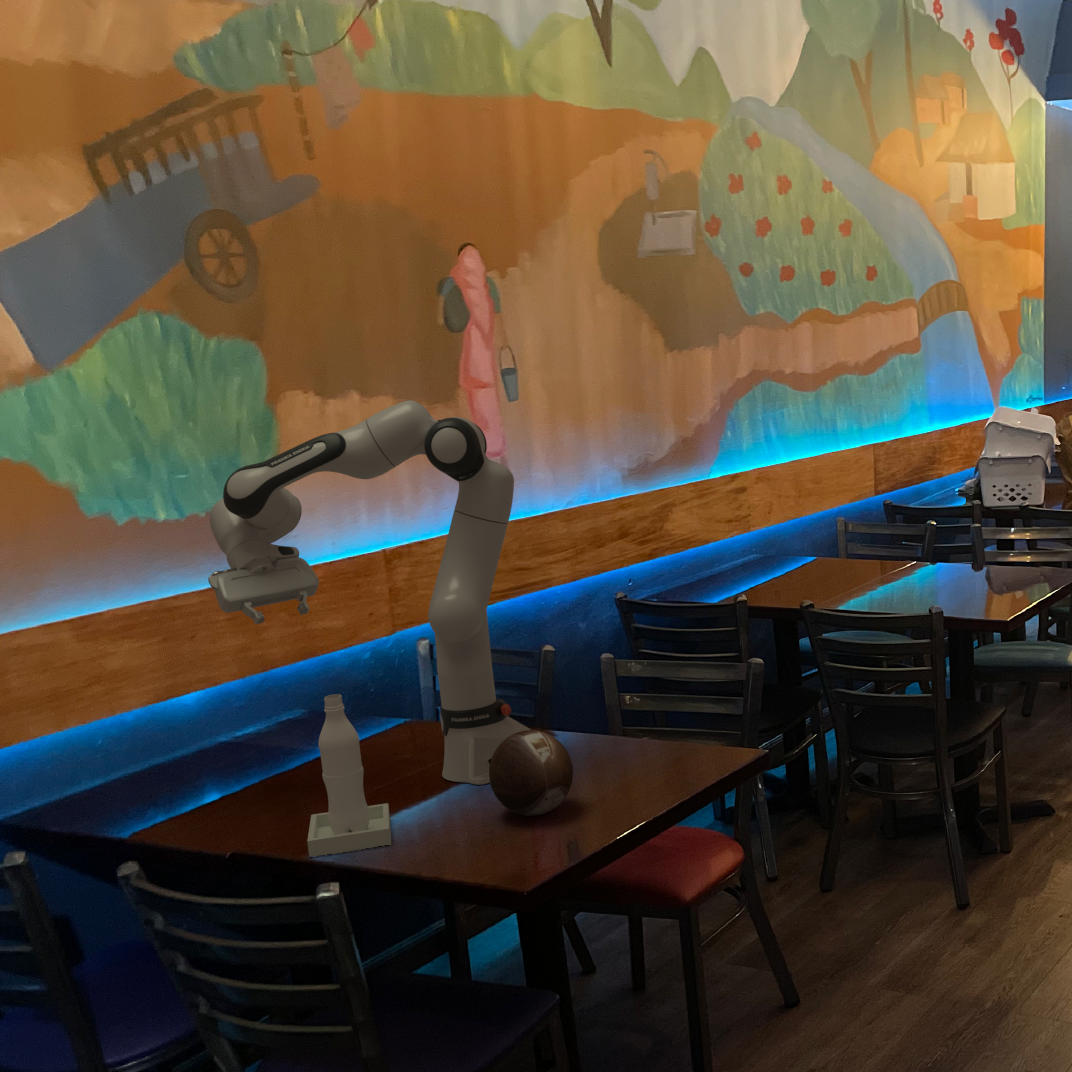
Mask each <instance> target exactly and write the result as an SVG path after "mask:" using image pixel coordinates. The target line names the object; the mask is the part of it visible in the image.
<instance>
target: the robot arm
mask: <svg viewBox="0 0 1072 1072" xmlns="http://www.w3.org/2000/svg"><path fill="white" fill-rule="evenodd" d="M487 444H488V443H487V438H486V436H485V434H484V431H483V430H482V428H481V427H480V426H478V425H477V424H476V423H474V422H473V421H471V420H470V419H467V418H465V417H462V416H460V417H458V416H454V417H453V416H452V417H447V418H442V419H438V420H437V419H435V418H433V416H432V415H431V413H430V412H429V411H428V409H427V408H426V407H425V406H424V405H423V404H422V403H420V402H418V401H415V400H411V399H409V400H404V401H402V402H401V401H400V402H398V403H396V404H394V405H390V406H389V407H386V408H385V409H381V410H380V411H378V412H376V413H374V414H372V415H371V416H369V417H368V418H366V419H364V420H363V421H361V422H359V423H357V424H355V425H353V426H350V427H348V428H346V429H342V430H340V431H336V432H328V433H324V434H321V435H318V436H316V437H313V438H311V439H308V440H306V441H305V442H302V443H300V444H298V445H296V446H293V447H291V448H290V449H288V450H285V451H283V452H281V453H278V454H277V455H274V456H273V457H271V458H269V459H266V460H264V461H260V462H259V463H254V464H253V463H252V464H248V465H247V464H246V465H245V466H241V467H239V468H238V469H236V470H235V471H233V472H232V474H230V476H229V477H228V478H227V480H226V482H225V483H224V486H223V491H222V498H221V499H219V500H218V501H217V502H215V504H214V505H212V508H211V510H210V512H209V525H210V529H211V532H212V533H213V534H212V535H213V537H214V539H215V541H216V542H217V543H216V544H217V545H218V547H219V549H220V550H221V552H222V553H224V554H225V556H226V561H227V563H228V565H229V568H227V569H224V570H215V571H213V572H212V574H210V575H209V576H208V578H207V579H208V584H209V586H210V587H211V589H212V590H214V593H215V598H216V600H217V603H218V605H219V609H220V610H221V611H222V612H225V613H227V614H228V613H235V612H239V611H241V612H242V613H243V615H245V616H247V618H250V619H252V620H253V622H254V624H255V625H260V624H263V623H264V621H265V615H264V614H263V612H262V610H261V611H257V610H256V609H255V608H259V607H263V606H269V605H273V604H278V603H279V604H280V603H284V602H289V601H293V600H297V601H298V606H297V608H296V609H297V611H298V613H299V615H306V614H307V615H308V613H309V611H310V607H309V605H308V603H307V599H308V597H313V596H315V594H316V593H317V592H318V588H319V586H320V585H319V584H320V580H319V578H318V575H317V574H316V573H315V571H314V569H313V568H312V566H311V565H310V564H309V563H308V562H307V560H305V559H304V558H302V557H300V551H299V549H298V548H297V547H295V546H287V545H278V544H273V543H275V542H277V541H278V540H280V539H282V538H283V537H284V536H287V535H288V534H289V533H291V532H293V531H294V529H295V528H296V527H297V526H298V524H299V523H300V520H301V517H302V513H303V511H302V510H303V509H302V505H301V501H300V500H299V498H298V497H297V496H296V495H294V493H292V492H290V491H289V490H288V489H286V487H287V486H290V485H292V484H293V483H295V482H298V481H301V480H302V479H304V478H307V477H308V476H311V475H312V474H316V473H321V472H329V473H336V474H342V475H344V476H345V475H346V476H349V477H352V478H355V479H359V480H371V479H375V478H378V477H379V476H383V475H385V474H386V473H388V472H390V471H391V470H393V469H394V468H396V467H398V466H399V465H401V464H403V463H404V462H406V461H407V460H409V459H412V458H413V457H416V456H418V455H419V456H420V455H425V456H426V458H427V459H428V461H429V462H430V464H431V465H432V466H433V467H434V468H435V469H437V470H438V471H440V472H441V473H443V474H445V475H447V476H448V477H449V478H452V479H453V480H454V481H456V482H457V484H458V493H457V498H456V502H455V504H454V510H453V512H452V513H453V514H452V517H451V522H450V525H449V529H448V533H447V537H446V542H445V545H444V549H443V554H442V556H441V559H440V563H439V569H438V572H437V575H436V580H435V583H434V587H433V591H432V595H431V598H430V603H429V607H428V611H427V612H428V613H427V617H428V622H429V625H430V627H431V630H432V631H433V632H434V639H435V640H434V641H435V652H436V653H435V654H436V671H437V679H438V686H439V693H440V694H439V695H440V702H441V703H440V704H441V705H440V708H439V712H440V713H439V717H440V724H441V725H440V726H441V731H442V734H443V736H444V755H443V756H444V759H443V765H442V766H443V767H442V768H443V769H442V773H441V776H442V778H443V779H445V780H447V781H451V782H456V783H457V782H458V783H467V784H472V785H477V786H479V785H480V786H481V785H486V784H490V780H489V766H490V762H491V759H492V756H493V754H494V752H495V750H496V749H497V747H498V746H499V745H500V744H501V743H502V742H503V741H504V740H505V739H506V738H508V737H509V736H511V735H513V734H515V733H517V732H521V731H526V730H531V728H529V727H527V726H526V725H524V724H522V723H521V722H518V721H517V720H515V719H514V718H512V717H510V714H511V713H512V709H511V706H510V705H509V704H507V702H506V701H504V700H503V699H502V698H500V699H499V698H497V695H496V688H495V679H494V671H493V662H492V652H491V651H492V650H491V642H490V632H489V621H488V620H489V619H488V611H487V610H488V606H489V602H490V598H491V593H492V589H493V584H494V581H495V577H496V572H497V569H498V564H499V561H500V556H501V552H502V548H503V545H504V542H505V538H506V533H507V530H508V526H509V521H510V517H511V512H512V506H513V499H514V489H515V488H514V487H515V479H514V478H515V477H514V475H513V473H512V471H511V470H510V469H509V468H508V467H506V466H505V465H504V464H502V463H499V462H497V461H494V460H491V459H489V458H488V457H487V454H486V453H487V447H488V445H487Z"/></svg>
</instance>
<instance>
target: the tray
mask: <svg viewBox="0 0 1072 1072" xmlns="http://www.w3.org/2000/svg"><path fill="white" fill-rule="evenodd" d="M367 806H368V809H369V817H370V820H369V825H368V828H367V830H364V831H357V832H352V831H349V833H344V834H338V835H335V834H334V832H333V831H332V829H331V828H330V825H329V820H328V811H327V812H321V813H314V814H311V815H310V822H309V829H308V834H307V840H306V842H307V849H308V857H309V858H310V856H319V855H325V856H328V855H327V854H332V855H337V853H338V854H342V853H343V852H345V853H350V851H351V852H355V851H356V850H357V851H363V850H362V849H364V850H366V849H365V848H370V849H373V848H372V847H377V846H383V847H385V846H384V845H390V846H392V833H391V831H392V829H391V815H390V814H391V813H390V808H389V802H388V803H386V802H385V803H380V804H375V805H373V804H372V805H367ZM377 848H378V847H377ZM319 857H320V856H319Z"/></svg>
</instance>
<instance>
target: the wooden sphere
mask: <svg viewBox="0 0 1072 1072" xmlns="http://www.w3.org/2000/svg"><path fill="white" fill-rule="evenodd" d="M573 778H574V767H573V762H572V759H571V756H570V754H569V752H568V751H567V749H566V747H565V746H564V745H563V743H562V742H561V741H560V740H559V739H557V738H556V737H555V736H553V735H551V734H549V733H547V732H544V731H542V730H541V731H540V730H533V729H530V730H526V731H521V732H517V733H515V734H513V735H511V736H509V737H508V738H506V739H505V740H504V741H503V742H502V743H501V744H500V745H499V746H498V747H497V749H496V750H495V752H494V754H493V756H492V759H491V762H490V766H489V780H490V783H489V784H490V787H491V790H492V792H493V794H494V796H495V798H496V799H497V800H498V801H499V803H501V805H502V806H503V807H505V808H506V809H508V810H509V811H511V812H513V813H515V814H517V815H521V816H527V817H528V816H529V817H530V816H531V817H532V816H533V817H535V816H540V815H544V814H547V813H549V812H551V811H553V810H555V809H556V808H557V807H558V806H560V805H561V804H562V802H563V801H564V800H565V799H566V797H567V796H568V794H569V792H570V790H571V788H572V784H573V781H574V780H573Z"/></svg>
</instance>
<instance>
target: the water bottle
mask: <svg viewBox="0 0 1072 1072" xmlns="http://www.w3.org/2000/svg"><path fill="white" fill-rule="evenodd" d="M344 710H345V705H344V703H343V698H342V695H341V694H339V693H338V694H336V693H335V694H329V695H327V696H324V710H323V711H324V712H325V720H324V722H323V725H322V729H321V731H320V734H319V737H318V749H319V754H320V760H321V769H322V774H321V775H322V776H321V777H322V780H323V783H324V785H325V789H326V794H327V798H328V799H327V800H328V811H327V812H328V820H329V825H330V828H331V829H332V831H333V832H334V834H335V835H338V834H344V833H349V831H352V832H357V831H364V830H367V828H368V825H369V820H370V817H369V809H368V806H369V805H368V804H367V801H366V797H365V791H364V773H365V772H364V766H363V763H362V756H361V755H362V754H361V747H360V737H359V734H358V732H357V731H356V728H355V727H354V725H352V723H351V722H350V720H349V719H348V717H347V716H346V712H345V711H344Z"/></svg>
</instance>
